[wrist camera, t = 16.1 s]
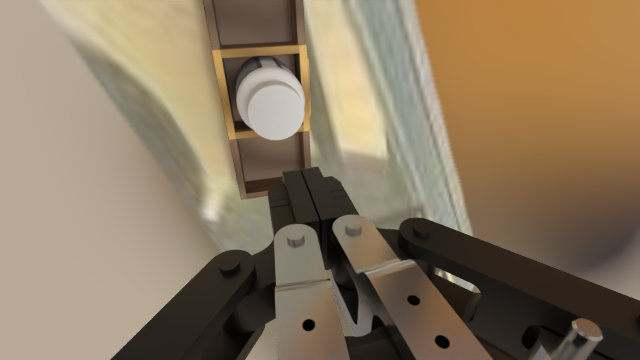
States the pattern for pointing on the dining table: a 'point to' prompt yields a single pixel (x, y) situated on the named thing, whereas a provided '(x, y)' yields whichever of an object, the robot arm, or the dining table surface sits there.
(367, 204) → the dining table surface
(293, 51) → the rack
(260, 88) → the pill bottle
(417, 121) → the dining table surface
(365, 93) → the dining table surface
